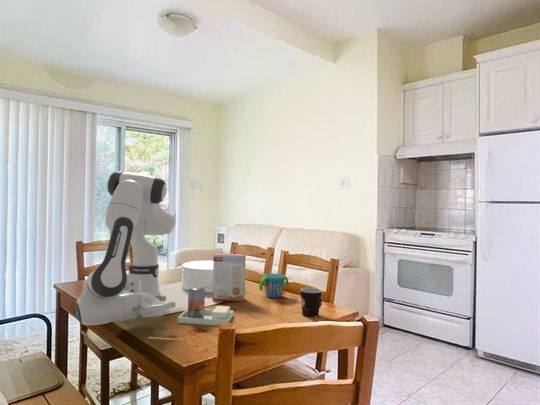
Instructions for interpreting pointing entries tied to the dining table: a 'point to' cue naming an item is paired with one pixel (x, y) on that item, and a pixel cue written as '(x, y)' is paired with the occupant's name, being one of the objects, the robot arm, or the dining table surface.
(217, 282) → the cracker box
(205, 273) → the plate stack
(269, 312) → the dining table surface
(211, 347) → the dining table surface
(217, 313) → the white rectangular block
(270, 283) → the snack cup
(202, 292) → the tin
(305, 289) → the coffee mug
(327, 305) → the dining table surface
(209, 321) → the pale green tray
